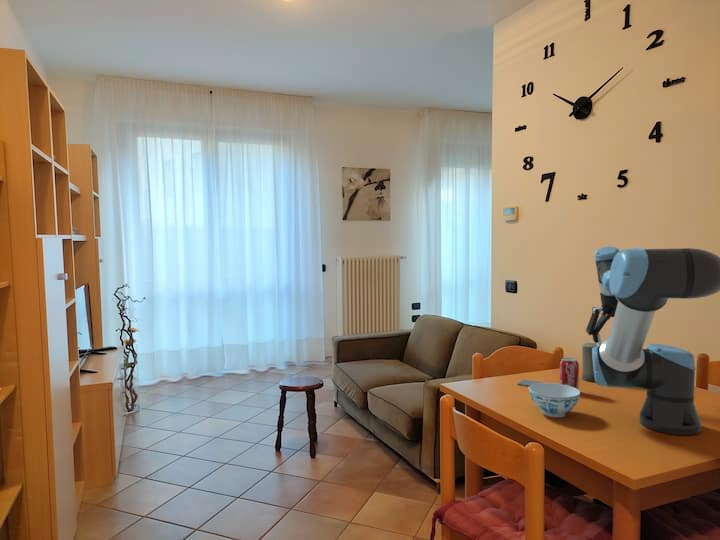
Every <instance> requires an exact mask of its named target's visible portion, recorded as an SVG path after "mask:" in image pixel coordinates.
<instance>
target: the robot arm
mask: <svg viewBox="0 0 720 540" xmlns="http://www.w3.org/2000/svg"><path fill="white" fill-rule="evenodd" d="M594 261H595V268H596V273H597V281H598V282H597V283H598V288H599V293H600V294H599V295H600V303H601V306H600V307H596V306H593V307H592V309H591V311H592V313H591V315H590V318H589V321H588V324H587V326H586V329H585V332H586V333H587V334H588V336H592V340H593V343H596V344H597V347H593V348H592V359H593V370H594V377H595V382H594V383H596V384H597V385H598V386H599V387H600V386H601V387H606V388H621V389H637V390H638V389H639V390H646V397H645V400H644V402H643V405H642V407H641V409H640V412H639V414H638V415H639V416H638V420H639V424H641V425H642V426H644V427H646V428H648V429H650V430H652V431H655V432H658V433H659V432H660V433H664V434H669V435H675V436H694V435H699V433H701V432H702V423H701V420H700V417H699V413H698V411H697V408H696V405H695V378H696V376H695V373H696V372H695V371H696V370H697V369H696V362H695V356H694V354H693V353H692V352H690V351H689V350H686V349H684V348H681V347H677V346H672V345H667V344H661V343H649V344H648V345H647V346H646V349H645V348H644V344H645V342H646V340H647V336H648V333H649V330H650V328H651V325H652V323H653V319H654V317H655V315H656V312H657V311H659V310H661V309H662V308H664V306H666V304H667V303H668V300H669V299H691V300H692V299H698V298H699V299H700V298H705V297H709V296H712V295H715V294H717V293H718V292H720V256H718V255H717V254H715V253H713V252H710V251H707V250H704V249H700V248H692V247H691V248H690V247H689V248H642V247H635V248H629V249H627V248H624V249H622V250H620V249H619V248H618V247H615V246H604V247H601V248H598V249H597V250H596V251H595V252H594ZM600 315H601V316H600ZM599 316H600V317H599ZM611 318H613V320H612V324H611V328H610V331H609V335H608V338H607V339H605V340H603V342H602V339H601V334H600V332H601V330H602V329H603V327H604V326H605V324H607V322H608V321H609V320H610V319H611Z"/></svg>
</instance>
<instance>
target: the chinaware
mask: <svg viewBox="0 0 720 540" xmlns="http://www.w3.org/2000/svg"><path fill="white" fill-rule="evenodd" d="M528 391H529V395H530V398H531V400H532V402H533V403H534V405H535V406H536V407H538V409H540V411H542V412H541V413H542V415H545V416H547V417H551V418H563V417H566V414H567V413H569V412H570V411H572V410H573V409H574V408H575V407H576V406H577V404H578V401H580V396H581V391H580V390H579V388H578V389H576V388H574V387H571V386H567V385H563V384H560V383H555V382H554V383H553V382H543V383H537V384H533V385H530V386H529V387H528Z"/></svg>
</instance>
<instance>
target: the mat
mask: <svg viewBox="0 0 720 540" xmlns="http://www.w3.org/2000/svg"><path fill="white" fill-rule="evenodd" d="M537 383H544V381H535V380H530V379H523V380H521V381H520V382H518V383H517V386H521V385H524V386H523V387H527V386H530V385H533V384H537Z"/></svg>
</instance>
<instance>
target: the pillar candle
mask: <svg viewBox="0 0 720 540" xmlns="http://www.w3.org/2000/svg"><path fill="white" fill-rule="evenodd" d="M581 345H582V347H581V350H582V353H581V355H582V356H581V379H582V380H583V381H587V382H592V383H596V382H595V377H594V370H593V359H592V348H593V347H597V344H596V343H595V342H586V343H581Z"/></svg>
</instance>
